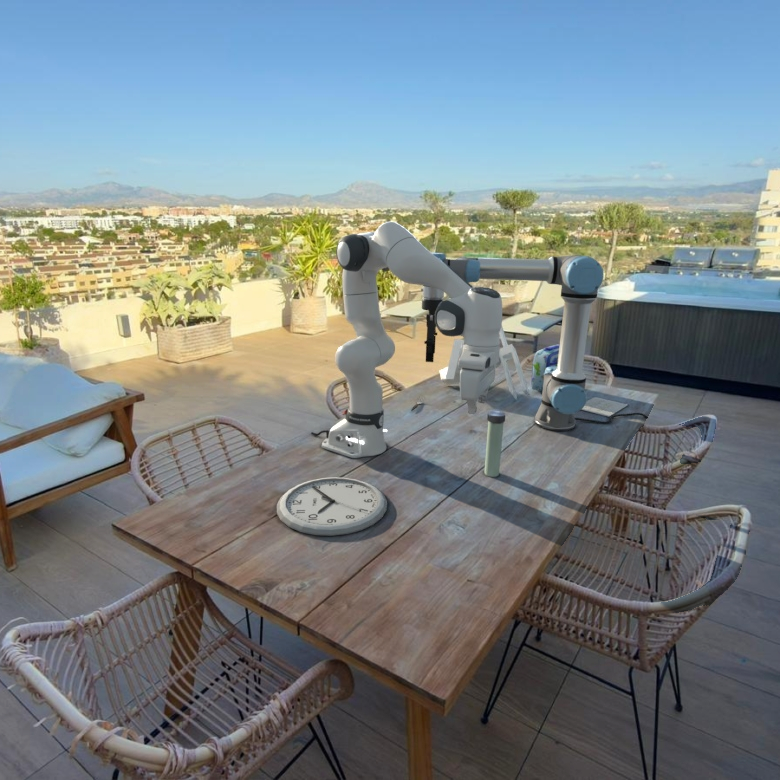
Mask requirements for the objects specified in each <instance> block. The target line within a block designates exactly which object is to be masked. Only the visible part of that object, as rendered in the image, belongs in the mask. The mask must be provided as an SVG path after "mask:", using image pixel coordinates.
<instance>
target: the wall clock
mask: <svg viewBox="0 0 780 780" xmlns="http://www.w3.org/2000/svg"><path fill="white" fill-rule="evenodd" d="M387 509H388V500H387V498H386V496H385V494H384V493H383V492H382V491H381V490H380V489H379V488H377V487H376V486H374V485H372V484H371V483H369V482H365V481H362V480H359V479H355V478H349V477H338V476H337V477H335V476H333V477H332V476H331V477H322V478H317V479H312V480H307V481H305V482H302V483H299V484H297V485H295V486H293V487H292V488H290V489H288V490H287V491H286V492H285V493H284V494H283V495H281V496H280V498H279V499H278V502H277V503H276V515H277V517H278V518H279V520H280V521H281V522H282V523H283V524H285V525H286V526H287V527H288V528H290V529H293V530H295V531H297V532H299V533H303V534H308V535H312V536H327V537H328V536H329V537H331V536H332V537H333V536H342V535H350V534H352V533H356V532H361V531H363V530H366V529H368V528H369V527H372V526H373V525H375V524H376V523H378V522H379V521H380V520H381V519H382V518H383V517H384V516H385V514H386V512H387Z"/></svg>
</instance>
